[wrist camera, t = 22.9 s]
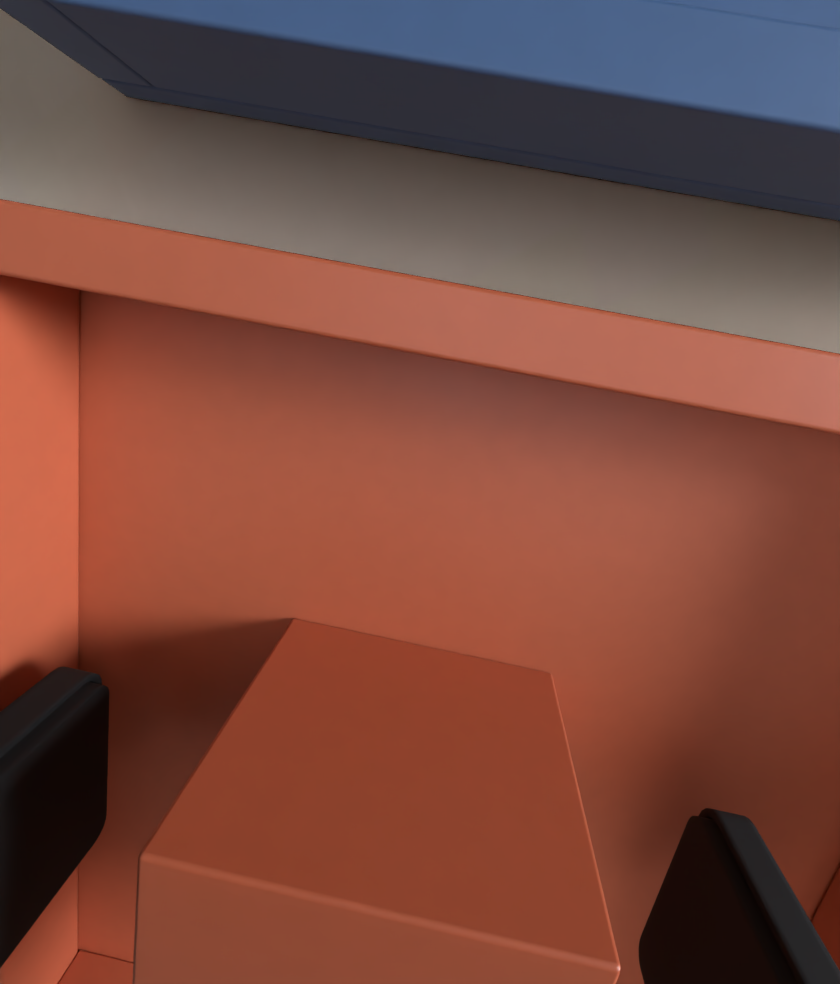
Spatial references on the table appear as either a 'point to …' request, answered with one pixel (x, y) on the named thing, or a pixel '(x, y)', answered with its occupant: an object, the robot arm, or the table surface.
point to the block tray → (415, 535)
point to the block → (377, 830)
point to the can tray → (505, 80)
